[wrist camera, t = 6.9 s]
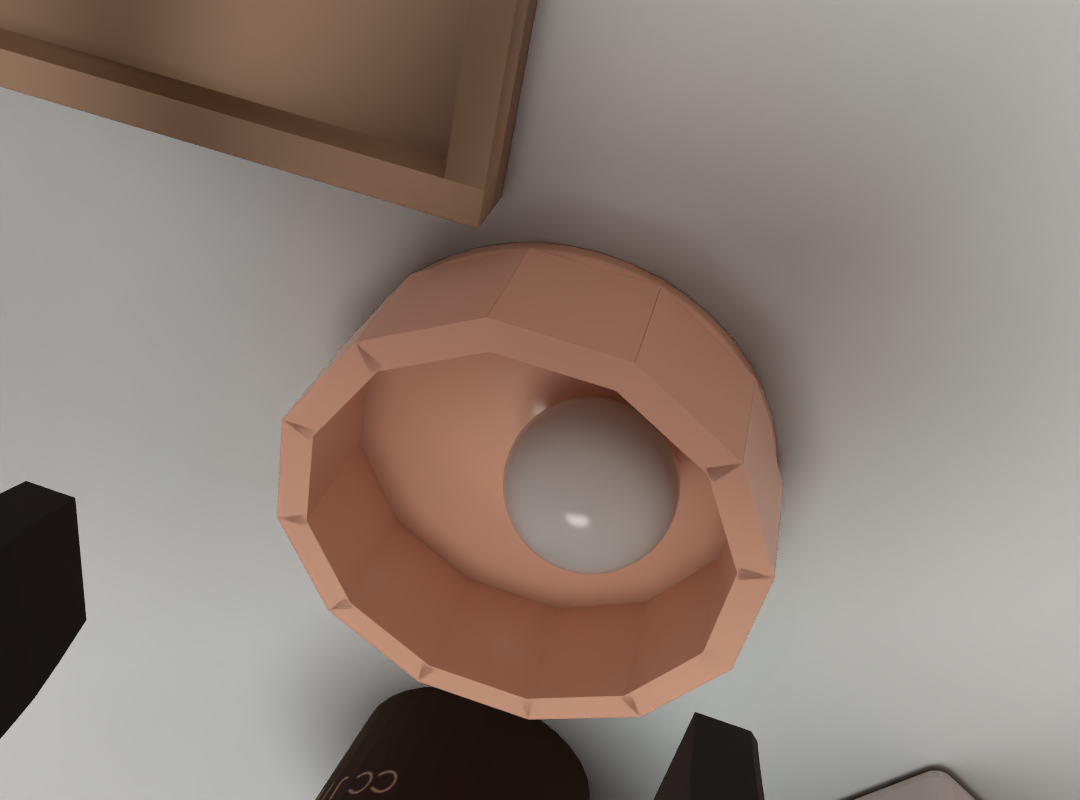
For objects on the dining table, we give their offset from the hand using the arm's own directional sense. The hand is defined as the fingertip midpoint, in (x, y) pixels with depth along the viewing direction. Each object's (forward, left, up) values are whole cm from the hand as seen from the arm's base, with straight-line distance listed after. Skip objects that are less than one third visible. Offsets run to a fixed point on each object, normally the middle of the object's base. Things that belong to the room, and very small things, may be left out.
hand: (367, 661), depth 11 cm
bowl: (+1, -4, -9) cm, 10 cm away
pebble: (+2, -2, -9) cm, 9 cm away
